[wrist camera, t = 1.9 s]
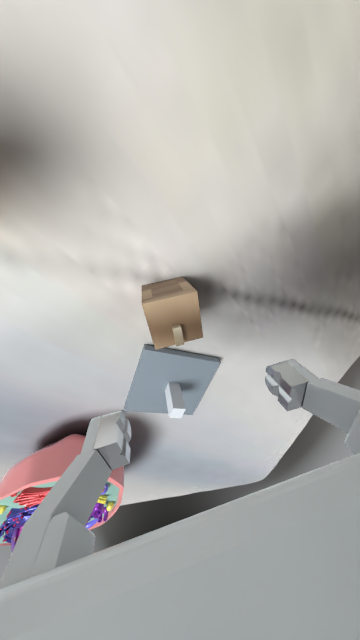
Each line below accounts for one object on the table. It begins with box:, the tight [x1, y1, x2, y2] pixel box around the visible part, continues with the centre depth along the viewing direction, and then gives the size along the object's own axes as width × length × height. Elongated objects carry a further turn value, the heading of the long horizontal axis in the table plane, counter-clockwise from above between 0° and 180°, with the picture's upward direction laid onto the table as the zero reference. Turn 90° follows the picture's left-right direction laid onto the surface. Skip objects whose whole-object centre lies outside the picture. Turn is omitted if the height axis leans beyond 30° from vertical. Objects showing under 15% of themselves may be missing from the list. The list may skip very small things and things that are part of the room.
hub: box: [124, 344, 220, 418], centre depth 25 cm, size 12×12×6 cm
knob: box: [142, 277, 203, 350], centre depth 19 cm, size 5×5×7 cm
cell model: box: [0, 434, 124, 552], centre depth 25 cm, size 17×20×11 cm
